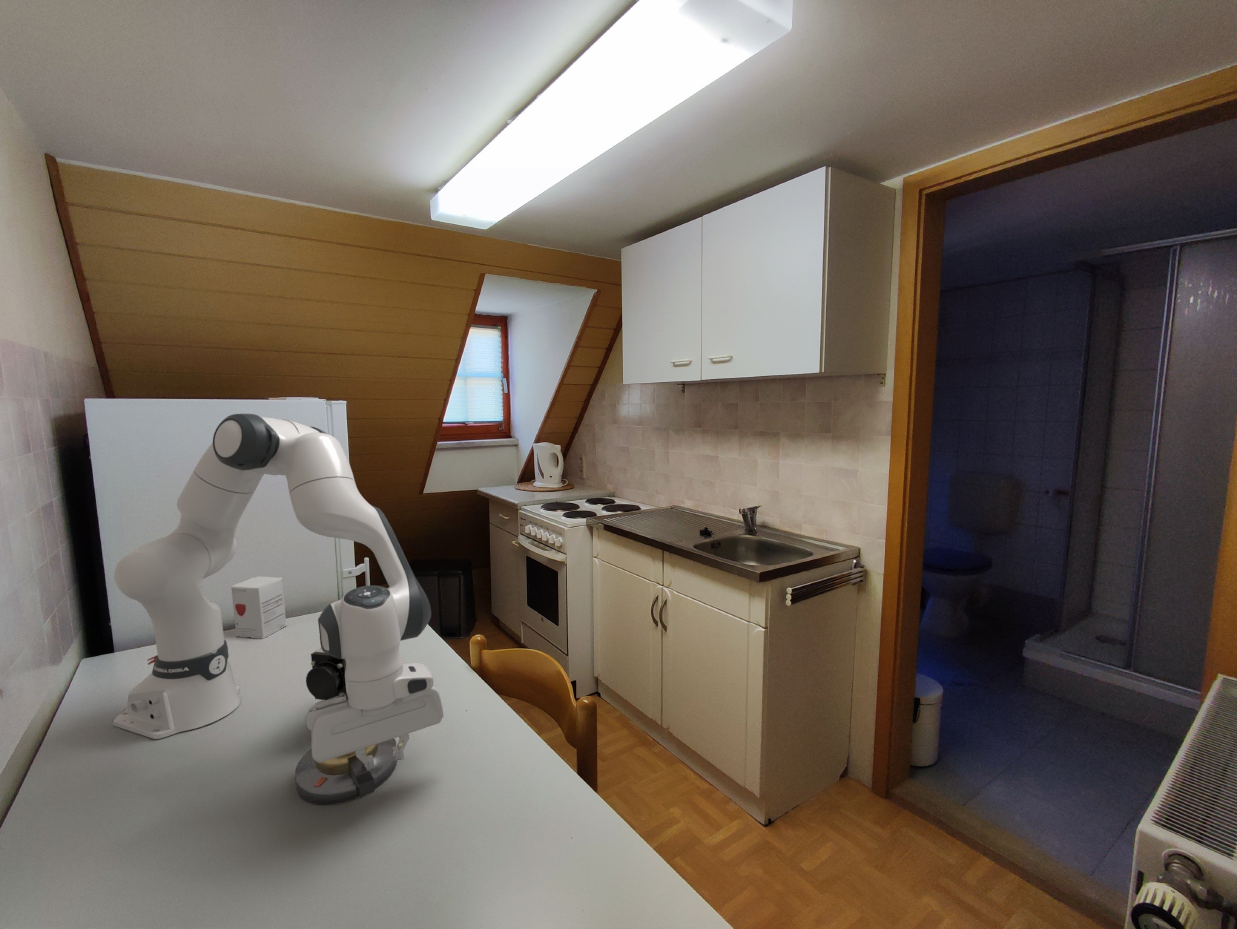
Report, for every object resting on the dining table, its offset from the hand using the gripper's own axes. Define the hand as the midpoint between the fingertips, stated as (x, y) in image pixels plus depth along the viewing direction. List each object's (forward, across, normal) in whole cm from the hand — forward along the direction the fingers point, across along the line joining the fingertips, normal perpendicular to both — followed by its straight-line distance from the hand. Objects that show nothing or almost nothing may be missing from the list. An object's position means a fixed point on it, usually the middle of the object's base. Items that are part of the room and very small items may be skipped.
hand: (383, 763), depth 92 cm
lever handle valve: (+1, -4, +4) cm, 6 cm away
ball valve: (+4, -1, +28) cm, 28 cm away
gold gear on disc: (+4, -5, +8) cm, 11 cm away
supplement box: (+2, -19, +88) cm, 90 cm away
